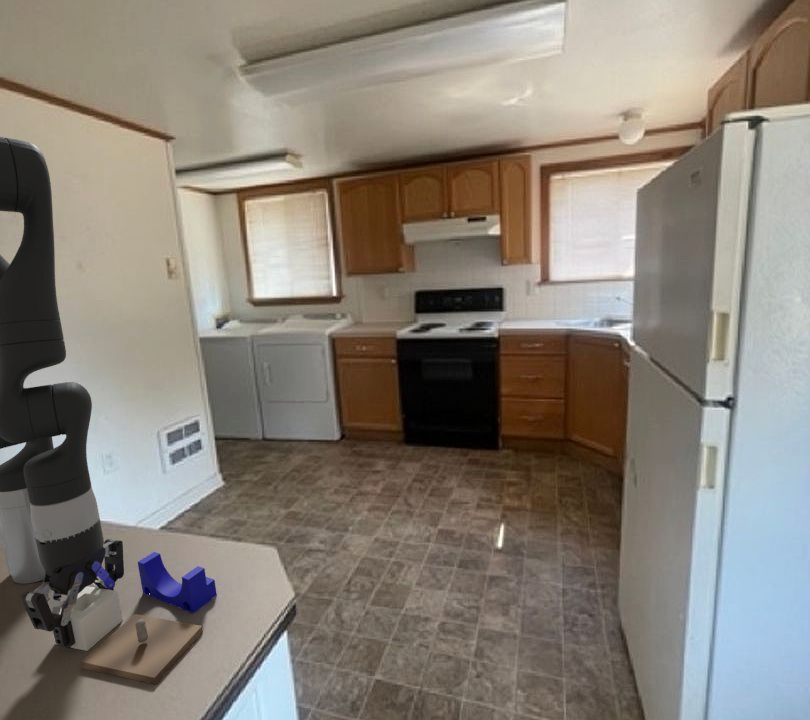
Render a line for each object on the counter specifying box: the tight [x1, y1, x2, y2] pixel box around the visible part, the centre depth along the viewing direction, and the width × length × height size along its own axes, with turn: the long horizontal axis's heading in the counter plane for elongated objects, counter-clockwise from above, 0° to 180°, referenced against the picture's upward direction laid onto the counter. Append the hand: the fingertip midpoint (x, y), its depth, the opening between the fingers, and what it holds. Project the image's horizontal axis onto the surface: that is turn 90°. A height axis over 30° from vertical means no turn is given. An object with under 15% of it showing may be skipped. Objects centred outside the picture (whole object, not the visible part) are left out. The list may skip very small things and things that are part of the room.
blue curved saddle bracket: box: [137, 551, 218, 614], centre depth 76 cm, size 12×4×6 cm, turn 64°
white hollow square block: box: [51, 585, 124, 652], centre depth 69 cm, size 6×6×5 cm
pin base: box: [80, 613, 203, 685], centre depth 65 cm, size 12×9×5 cm
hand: (88, 627), depth 69 cm, fingers closed on white hollow square block, 6 cm apart
